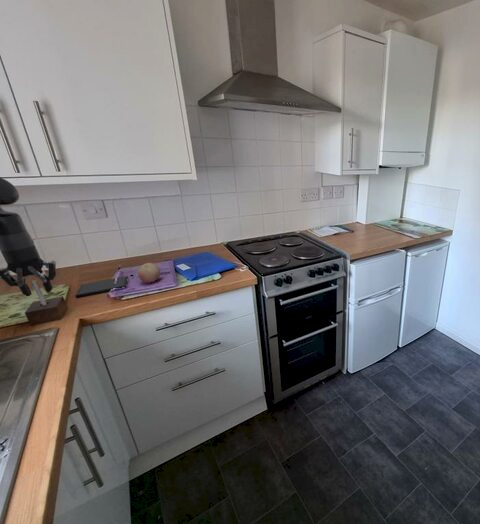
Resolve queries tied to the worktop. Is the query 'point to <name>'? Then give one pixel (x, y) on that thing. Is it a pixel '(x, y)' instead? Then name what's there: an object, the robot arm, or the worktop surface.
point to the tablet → (100, 286)
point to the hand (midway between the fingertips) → (39, 293)
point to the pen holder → (46, 310)
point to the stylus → (39, 292)
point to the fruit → (149, 272)
